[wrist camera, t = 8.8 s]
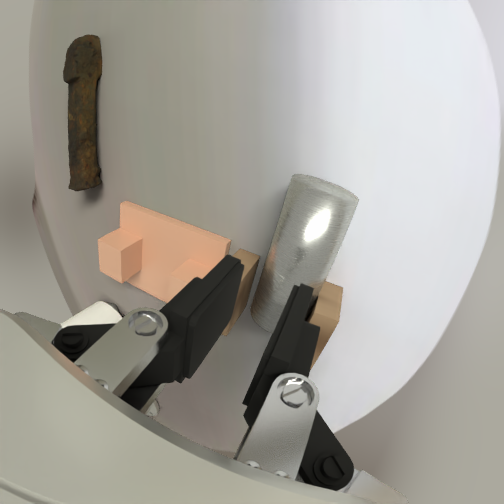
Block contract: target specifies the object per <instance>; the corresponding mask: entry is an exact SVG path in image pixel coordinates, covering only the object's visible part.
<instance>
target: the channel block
mask: <svg viewBox="0 0 504 504" xmlns="http://www.w3.org/2000/svg"><path fill="white" fill-rule="evenodd" d="M233 257H236V258H238V259H241V264H243V265H244V271H243V275H242V279H241V283H240V286H239V290H238V294H237V298H236V302H235V306H234V310H233V314H232V317H231V320H230V322H229V323H228V325H227V326H226V328H225V329H224V331H223V332H222V335H224V336H227V335H228V333H229V332H230V330H231V328H232V327H233V325H234V324H235V322H236V321H237V319H238V318H239V316H240V315H241V313H242V312H243V310H244V308H245V307H246V304H247V301H248V297H249V294H250V290H251V287H252V283H253V280H254V276H255V273H256V269H257V266H258V262H259V259H260V256H258V255H256V254H253V253H250V252H248V251H245V250H242V249H239V250H238V251H237V252H236V253H235V254H234V255H233ZM342 293H343V288H342V287H339V286H337V285H334V284H332V283H329V282H326V281H325V282H324V285H323V287H322V289H321V291H320V293H319V295H318V297H317V299H316V302H315V304H314V306H313V308H312V310H311V312H310V314H309V316H308V318H307V320H306V322H309V323H311V324H314V325H317V326H319V327H320V333H319V337H318V341H317V345H316V349H315V353H314V357H313V361H312V365H311V368H312V367H313V365H314V364H315V362H316V360H317V359H318V357H319V355H320V354H321V352H322V350H323V349H324V347H325V345H326V344H327V342H328V340H329V338H330V337H331V335H332V333H333V331H334V330H335V328H336V326H337V324H338V322H339V317H340V310H341V302H342ZM310 370H311V369H310Z"/></svg>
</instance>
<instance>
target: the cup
mask: <svg viewBox="0 0 504 504" xmlns="http://www.w3.org/2000/svg"><path fill="white" fill-rule="evenodd" d="M121 319H122V316H121V315H120V314H119V312H118V308H117V306H116V305H115V304H111V303H106V302H103V301H98V302H96V303H95V304H93V305H91V306H90V307H88V308H86V309H85V310H83V311H81V312H80V313H78V314H76V315H75V316H73V317H71V318H70V319H68V320H66V321H65V322H63V323H61V324H60V325H61V326H62V328H64V327H67V326H71V325H91V324H111V323H118V322H119V321H120V320H121Z"/></svg>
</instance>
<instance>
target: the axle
mask: <svg viewBox="0 0 504 504" xmlns="http://www.w3.org/2000/svg"><path fill="white" fill-rule="evenodd" d="M358 202H359V199H358V197H357V196H355V195H354V194H353V193H351V192H350V191H348V190H346V189H344V188H342V187H340V186H338V185H336V184H333V183H330V182H328V181H325V180H322V179H320V178H316V177H313V176H308V175H302V174H294V175H293V176H292V178H291V182H290V185H289V188H288V192H287V195H286V198H285V201H284V204H283V208H282V211H281V214H280V217H279V221H278V224H277V227H276V230H275V233H274V237H273V240H272V243H271V246H270V249H269V252H268V256H267V259H266V262H265V265H264V268H263V271H262V274H261V277H260V281H259V284H258V287H257V290H256V293H255V296H254V299H253V302H252V305H251V315H252V318H253V319H254V321H255V322H256V323H257V324H258V325H259V326H260V327H261V328H263V329H264V330H266V331H268V332H270V333H273V332H274V330H275V327H276V325H277V323H278V321H279V318H280V316H281V314H282V312H283V309H284V307H285V305H286V302H287V300H288V298H289V295H290V293H291V291H292V288H293V286H294V285H297V286H300V284H301V283H302V284H305V285H308V286H310V287H313V288H314V290H313V293H312V297H311V300H310V304H309V307H308V310H307V313H306V317H305V320H304V321H306V320H307V318H308V316H309V314H310V312H311V310H312V308H313V306H314V304H315V302H316V299H317V297H318V295H319V293H320V291H321V289H322V287H323V285H324V282H325V280H326V278H327V276H328V274H329V271H330V269H331V267H332V265H333V262H334V260H335V258H336V256H337V253H338V251H339V249H340V246H341V244H342V242H343V239H344V237H345V234H346V232H347V230H348V227H349V225H350V222H351V220H352V217H353V215H354V212H355V210H356V207H357V204H358Z"/></svg>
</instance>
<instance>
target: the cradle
mask: <svg viewBox="0 0 504 504" xmlns="http://www.w3.org/2000/svg"><path fill="white" fill-rule="evenodd" d="M230 244H231V240H230V239H227V238H224V237H222V236H219V235H216V234H214V233H211V232H208V231H206V230H203V229H200V228H198V227H195V226H192V225H190V224H187V223H184V222H182V221H179V220H176V219H174V218H171V217H168V216H166V215H163V214H160V213H158V212H155V211H152V210H150V209H147V208H144V207H142V206H139V205H136V204H134V203H131V202H128V201H125V202H122V203H120V228H119V229H117V230H115V231H113V232H111V233H109V234H107V235H105V236H103V237H101V238H99V239H98V250H99V264H100V271H101V272H103V273H105V274H106V275H108V276H110V277H111V278H113V279H115V280H117V281H118V282H120V283H123V282H125V281H126V282H128V283H130V284H132V285H134V286H136V287H137V288H139V289H141V290H143V291H145V292H147V293H149V294H151V295H153V296H154V297H156V298H158V299H160V300H162V301H164V302H166V303H168V302H169V301H170V300H171V299H172V298H173V297H174V296H175V295H176V294H178V293H179V292H180V291H181V290H182V289H183V288H184V287H185V286H186V285H187V284H188V283H189V282H190V281H191V280H192V279H194V278H195V277H199V278H201V279H203V278H204V277H205V276H206V275H207V274H208V273H209V272H210V271H211V270H212V269H213V268H214V267H215V266H216V265H217V264H218V263H219V262H220V261H221V260H222V259H223V258H224V257H225V256H226V255H228V253H229V248H230Z"/></svg>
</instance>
